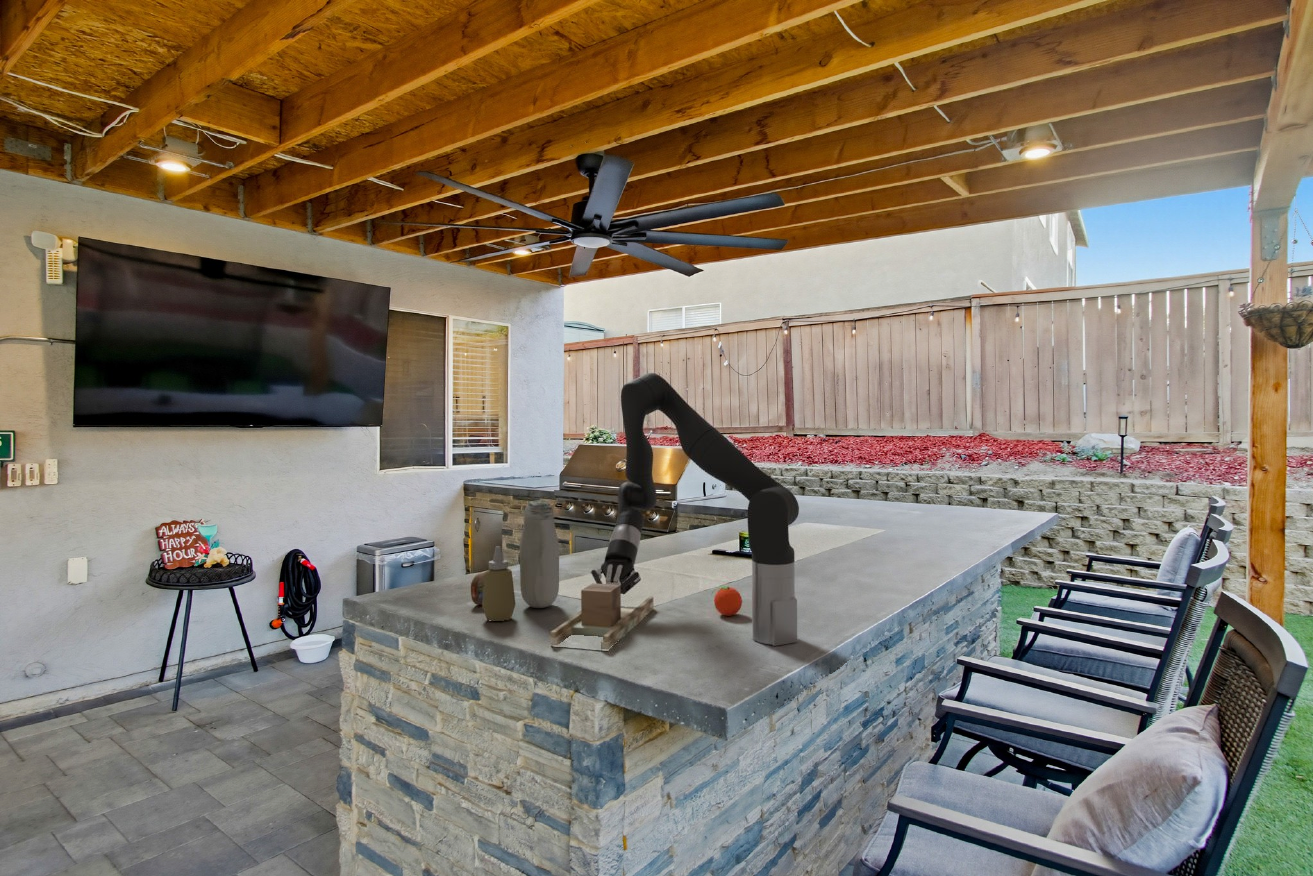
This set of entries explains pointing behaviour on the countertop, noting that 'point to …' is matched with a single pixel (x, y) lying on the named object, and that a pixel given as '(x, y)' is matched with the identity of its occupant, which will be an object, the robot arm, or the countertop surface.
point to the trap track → (610, 635)
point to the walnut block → (601, 605)
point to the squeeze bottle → (498, 589)
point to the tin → (477, 588)
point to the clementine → (727, 601)
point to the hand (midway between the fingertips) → (607, 607)
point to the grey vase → (539, 556)
